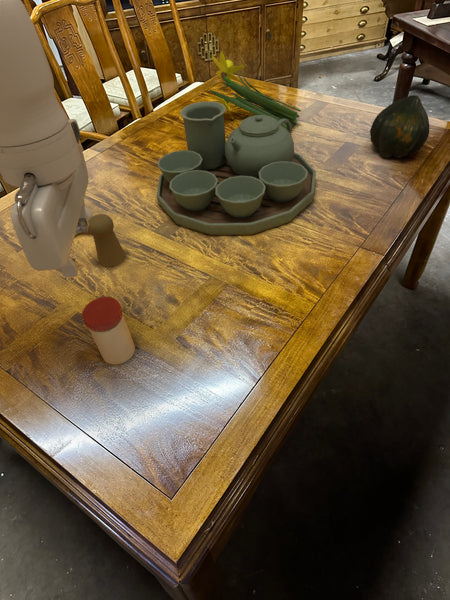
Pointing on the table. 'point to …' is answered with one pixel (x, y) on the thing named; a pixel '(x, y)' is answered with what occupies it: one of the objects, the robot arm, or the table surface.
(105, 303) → the jam jar lid
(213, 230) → the tea set
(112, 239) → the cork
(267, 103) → the daffodil flowers
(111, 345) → the jam jar
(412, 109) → the squash
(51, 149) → the robot arm
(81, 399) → the table surface
